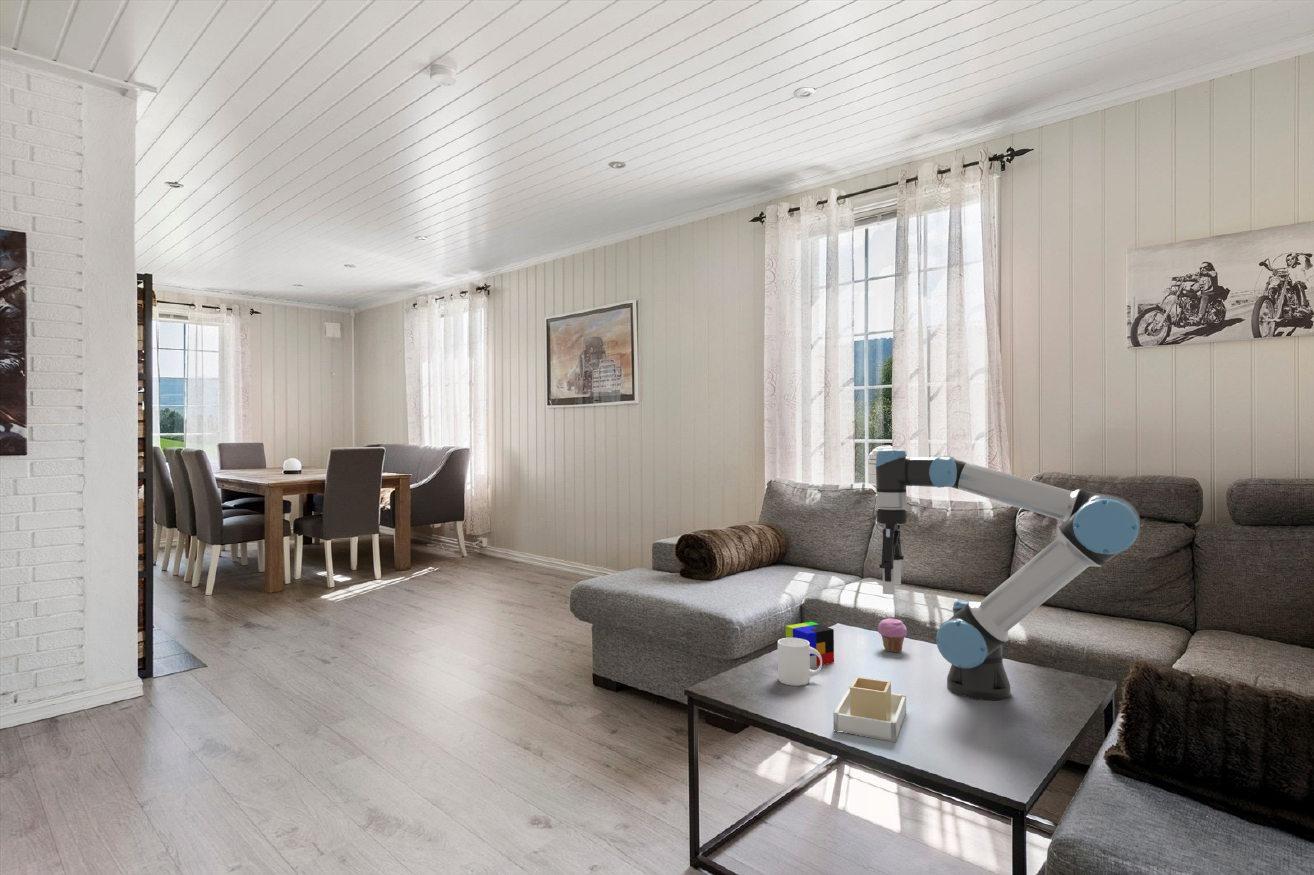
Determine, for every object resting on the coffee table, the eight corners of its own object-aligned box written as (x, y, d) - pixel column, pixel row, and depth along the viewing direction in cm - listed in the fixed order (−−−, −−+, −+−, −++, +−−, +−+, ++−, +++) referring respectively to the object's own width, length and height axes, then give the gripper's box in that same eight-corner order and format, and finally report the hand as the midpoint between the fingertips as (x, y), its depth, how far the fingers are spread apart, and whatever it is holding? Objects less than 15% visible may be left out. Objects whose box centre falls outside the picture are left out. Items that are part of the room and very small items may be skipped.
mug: (824, 687, 184) (824, 647, 184) (779, 686, 185) (779, 646, 185) (819, 676, 192) (819, 638, 192) (776, 675, 193) (776, 637, 193)
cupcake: (910, 655, 211) (909, 622, 211) (881, 654, 212) (880, 621, 212) (903, 646, 220) (903, 615, 220) (875, 646, 221) (875, 614, 221)
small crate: (891, 715, 163) (890, 681, 163) (886, 728, 156) (886, 692, 156) (856, 710, 166) (856, 676, 166) (850, 722, 159) (849, 687, 159)
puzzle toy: (807, 668, 200) (807, 633, 200) (786, 658, 209) (785, 625, 209) (834, 663, 204) (833, 629, 204) (811, 654, 213) (811, 621, 213)
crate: (906, 712, 166) (905, 694, 166) (895, 742, 149) (895, 723, 149) (849, 703, 172) (849, 686, 172) (833, 731, 155) (833, 712, 155)
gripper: (883, 503, 194) (884, 579, 194) (868, 511, 172) (869, 597, 171) (911, 504, 191) (912, 581, 190) (900, 512, 168) (901, 599, 168)
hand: (892, 589), depth 181 cm, fingers open, 13 cm apart
